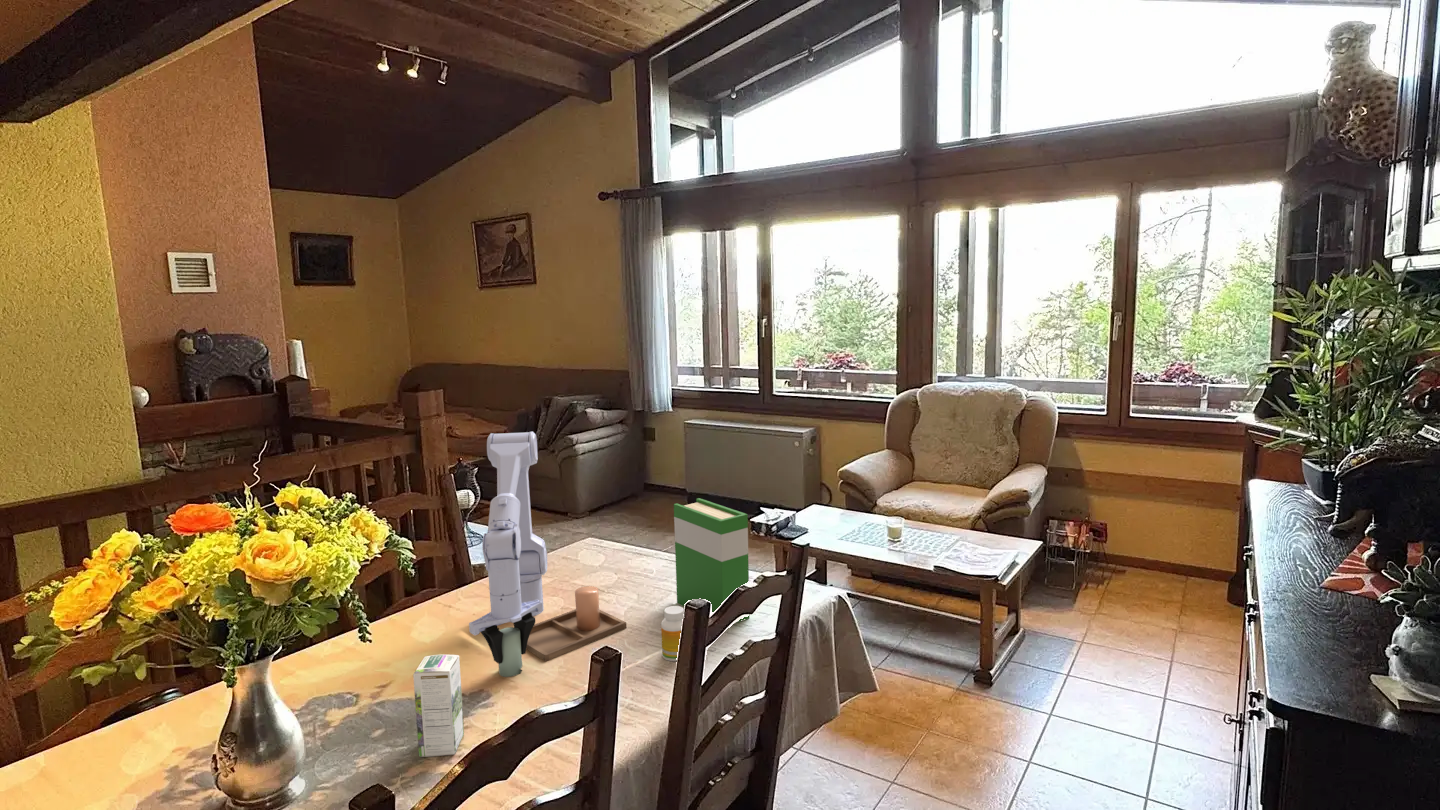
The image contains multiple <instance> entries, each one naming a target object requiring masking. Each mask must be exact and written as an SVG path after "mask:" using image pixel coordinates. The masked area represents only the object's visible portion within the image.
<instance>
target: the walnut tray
mask: <svg viewBox="0 0 1440 810" xmlns="http://www.w3.org/2000/svg"><path fill="white" fill-rule="evenodd" d="M599 612H600V626H599V627H598V628H597V629H594V630H590V631H582V630H579V629H578V628H577V619H576V608H575V609H572V610H570V611H567V612H565V613H561V614H559V615H556V616H554V617H550V618H549V619H546V620H543V621H540V622H538V623H535V624H534V626H533V628H532V630H531V632H530V635H529V638H528V642H527V647H526V651H529V653H531V654H534V656H536V657H538V658H539V659H541V660H543V661H545V662H547V661H548V662H549V661H550V660H552V659H555V658H557V657H560V656H562V655H564V654H567V653H569V652H572V651H574V650H577V649H579V648H582V647H584V646H587V645H589V644H591V643H594V642H596V641H598V640H601V639H603V638H605V637H609V636H610V635H613V634H615V633H619V632H620V631H623V630H625V629H627V622H626V621H624V620H622V619H620V618H618V617H616V616H614V615H611V614H610V613H608V612H607V611H606V612H605V611H604V610H601V609H599Z"/></svg>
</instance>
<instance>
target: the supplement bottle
mask: <svg viewBox="0 0 1440 810" xmlns="http://www.w3.org/2000/svg"><path fill="white" fill-rule="evenodd" d="M683 614H684V615H685V609H684V607H682V606H681V605H680V606H679V605H669V606H667V607H665V608H664V610H663V617H664V618H663V619H662V620H661V624H660V626H661V627H660V628H661V632H660V633H661V655H662V658H663V659H665V660H667V662H668V661H669V662H677V661H676V658H677V652H678V645H679V639H680V633H681V626H682V619H683Z"/></svg>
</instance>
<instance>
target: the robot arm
mask: <svg viewBox="0 0 1440 810" xmlns="http://www.w3.org/2000/svg"><path fill="white" fill-rule="evenodd" d="M486 455H487V459H488V460H489V461H490V463H491V466H492V467H494V468H496V474H497V475H496V478H497V479H496V482H497V483H496V487H497V488H496V493H497V494H496V495H497V496H495V497H493V498H492V499H491V500H490V504H489V514H488V525H487V533H486V532H485V533H484V534H483V536H482V553H483V554H482V555H483V559H484V562H485V570H486V571H487V573H488V574H487V575H488V588H489V589H488V590H489V603H490V611H489V612H488V613H486V614H484V615H483V616H481V617H479V618H477V619H475V620H472V621H471V622H468V628H469V629H468V630H469V633H470V634H471V635H473V636H477V635H479V634H480V633H481V635H482V636H483V638H484V639H485V641H486V642H487V645H488V646H489V649H490V652H491V655H492V658H493V661H494V662H496V663H497V664H498V665H499V664H500V663H502V660H503V656H502V638H503V633H502V632H501V631H499V630H500V628H499V627H498V626H500V625H501V626H502V625H503V624H506V623H512V624H513V627H515V628H518V629H519V630H520V639H521V654H522V656H523V655H525V654H526V651H527V649H526V647H527V642H528V638H529V635H530V632H531V630H532V628H533V626H534V625H535V624H536V617H535V616H538V615H540V614H542V613H543V612H544V610H545V609H544V592H543V591H544V590H543V579H542V578H543V577H542V576H544V575H545V574H547V572H548V551H547V547H546V542H545V540H544V539H543V538H541V537H540V536H539V535H538V536H537V535H536V534H535V533H534V532H533V526H532V512H531V511H532V510H531V509H532V508H531V496H530V481H529V469H530V466H533V465H536V464H537V463H538V458H539V456H538V455H539V454H538V440H537V435H536V433H535V432H534V431H529V432H528V431H526V432H508V433H506V432H505V433H494V432H493V433H492V432H491V433H490V434H489V435H488V437H487V440H486Z"/></svg>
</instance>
